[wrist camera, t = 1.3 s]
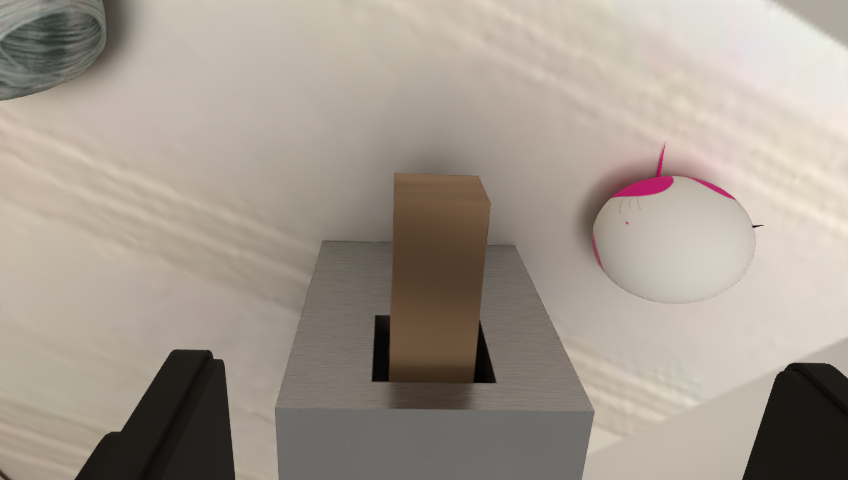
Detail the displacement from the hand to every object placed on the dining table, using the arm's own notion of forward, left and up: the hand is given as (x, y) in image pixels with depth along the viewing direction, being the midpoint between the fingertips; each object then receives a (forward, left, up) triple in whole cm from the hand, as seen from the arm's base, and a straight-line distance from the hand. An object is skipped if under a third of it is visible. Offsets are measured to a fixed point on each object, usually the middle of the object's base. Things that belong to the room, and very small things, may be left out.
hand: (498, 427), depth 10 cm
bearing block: (-9, 0, -21) cm, 23 cm away
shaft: (-9, 0, -13) cm, 15 cm away
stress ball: (-3, -12, -21) cm, 24 cm away
